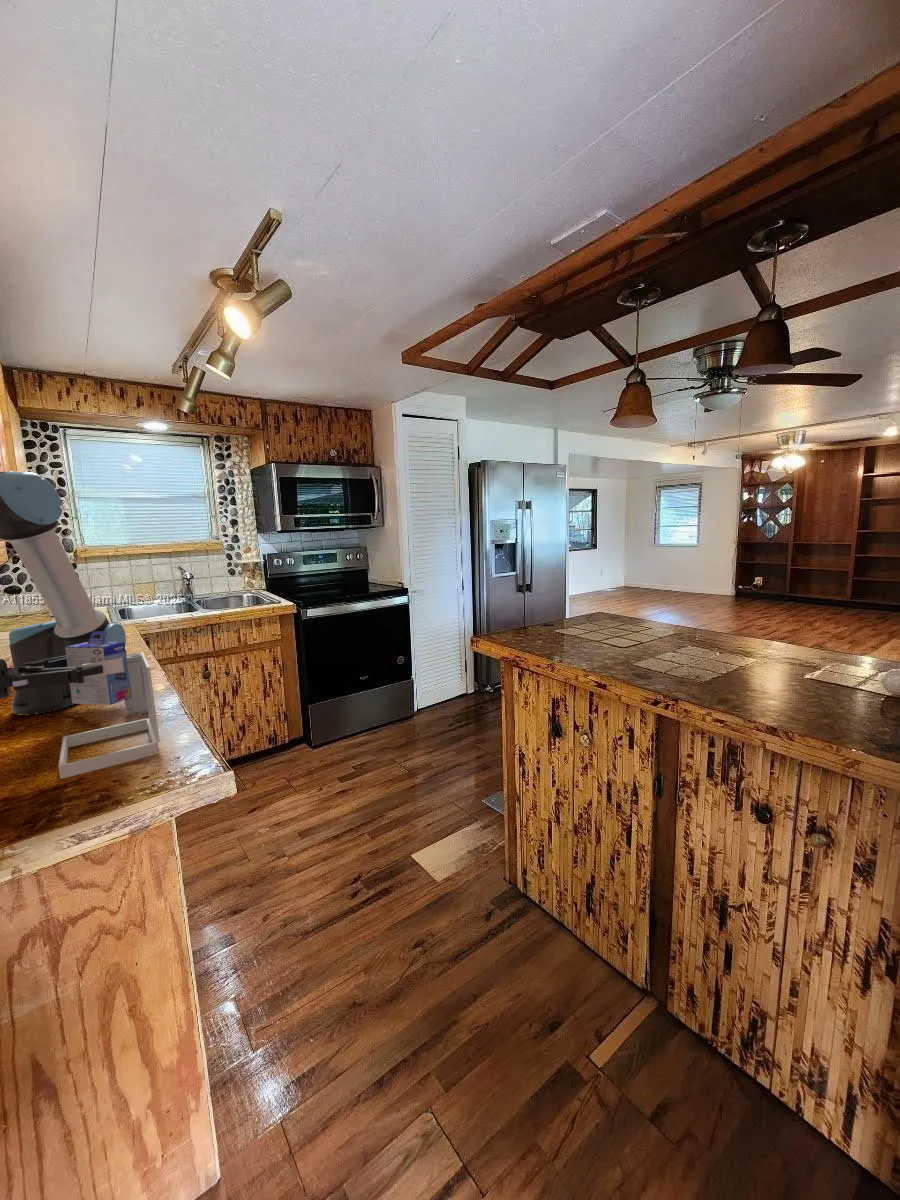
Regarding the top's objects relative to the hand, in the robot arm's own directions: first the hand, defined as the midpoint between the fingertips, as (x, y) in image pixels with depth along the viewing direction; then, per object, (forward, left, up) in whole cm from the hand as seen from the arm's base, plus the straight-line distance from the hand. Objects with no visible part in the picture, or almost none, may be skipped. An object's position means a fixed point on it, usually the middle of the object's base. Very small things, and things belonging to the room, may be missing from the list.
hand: (121, 659), depth 104 cm
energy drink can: (-24, +3, -19) cm, 31 cm away
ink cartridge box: (0, -4, -8) cm, 9 cm away
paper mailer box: (0, -4, -19) cm, 20 cm away
